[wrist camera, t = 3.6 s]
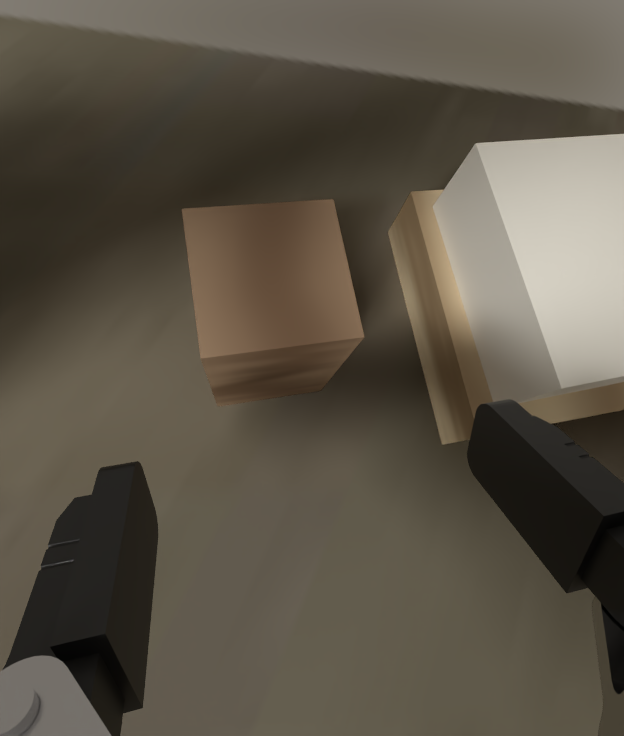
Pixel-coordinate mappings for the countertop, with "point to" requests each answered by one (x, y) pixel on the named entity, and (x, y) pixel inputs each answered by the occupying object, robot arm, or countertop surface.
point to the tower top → (540, 261)
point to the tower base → (461, 332)
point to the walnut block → (270, 297)
